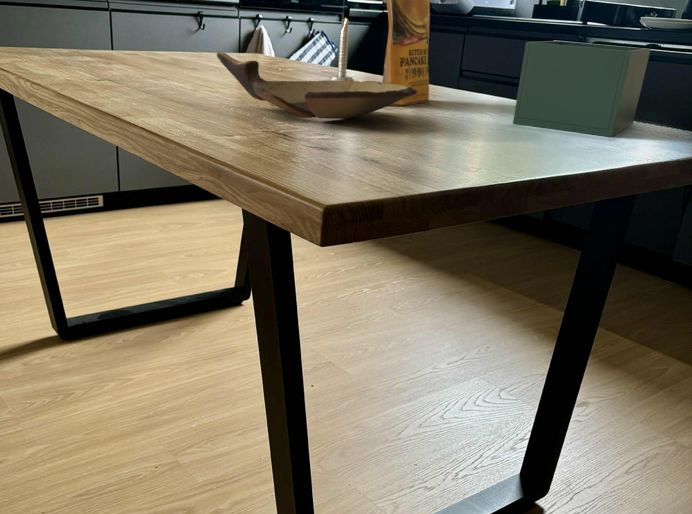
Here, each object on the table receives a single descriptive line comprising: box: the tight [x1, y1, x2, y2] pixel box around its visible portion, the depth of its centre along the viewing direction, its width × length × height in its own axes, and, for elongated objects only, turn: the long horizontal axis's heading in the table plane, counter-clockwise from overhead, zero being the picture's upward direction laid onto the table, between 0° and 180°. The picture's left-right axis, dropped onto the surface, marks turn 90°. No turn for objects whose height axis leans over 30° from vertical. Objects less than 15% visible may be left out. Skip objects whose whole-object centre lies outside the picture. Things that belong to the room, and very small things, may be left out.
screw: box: [328, 17, 355, 81], centre depth 139 cm, size 13×5×5 cm
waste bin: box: [512, 40, 651, 138], centre depth 116 cm, size 15×19×12 cm
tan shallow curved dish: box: [216, 51, 417, 120], centre depth 107 cm, size 22×30×8 cm
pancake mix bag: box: [382, 0, 431, 107], centre depth 124 cm, size 7×19×28 cm, turn 149°
